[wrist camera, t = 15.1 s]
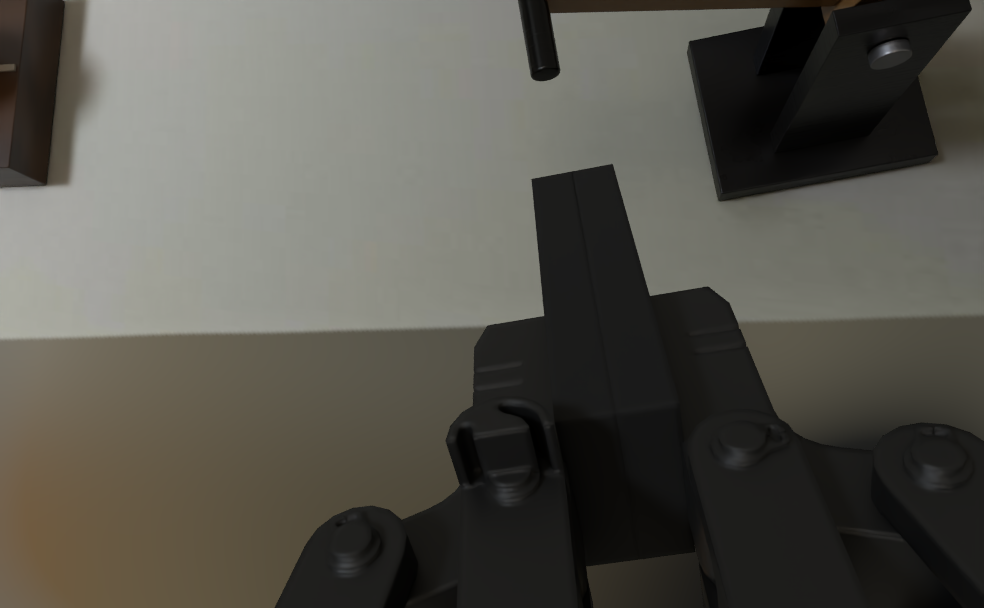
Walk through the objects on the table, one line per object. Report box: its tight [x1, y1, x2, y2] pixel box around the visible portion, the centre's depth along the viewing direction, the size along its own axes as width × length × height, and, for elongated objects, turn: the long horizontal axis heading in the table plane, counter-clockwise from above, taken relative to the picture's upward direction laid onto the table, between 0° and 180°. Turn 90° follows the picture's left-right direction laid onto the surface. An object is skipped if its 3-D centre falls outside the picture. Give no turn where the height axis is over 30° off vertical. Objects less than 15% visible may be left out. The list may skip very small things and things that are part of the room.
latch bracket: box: [687, 0, 972, 201], centre depth 35 cm, size 10×8×13 cm
